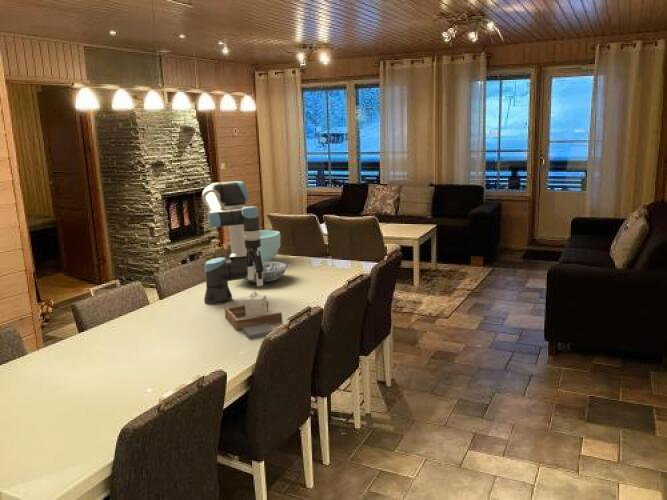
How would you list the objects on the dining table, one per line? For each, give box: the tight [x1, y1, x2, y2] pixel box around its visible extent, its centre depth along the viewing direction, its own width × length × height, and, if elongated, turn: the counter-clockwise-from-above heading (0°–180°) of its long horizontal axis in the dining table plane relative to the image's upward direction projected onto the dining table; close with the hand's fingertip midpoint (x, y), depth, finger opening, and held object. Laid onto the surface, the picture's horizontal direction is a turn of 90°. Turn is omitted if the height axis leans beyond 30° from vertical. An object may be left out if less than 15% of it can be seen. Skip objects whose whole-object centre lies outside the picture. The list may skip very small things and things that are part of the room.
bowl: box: [257, 229, 282, 261], centre depth 395 cm, size 35×35×22 cm
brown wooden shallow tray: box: [224, 301, 283, 332], centre depth 275 cm, size 23×22×5 cm
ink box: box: [244, 291, 269, 318], centre depth 275 cm, size 9×8×13 cm
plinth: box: [242, 323, 275, 340], centre depth 257 cm, size 12×12×2 cm
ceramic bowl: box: [244, 260, 290, 283], centre depth 350 cm, size 34×34×10 cm
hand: (255, 282), depth 272 cm, fingers open, 13 cm apart
